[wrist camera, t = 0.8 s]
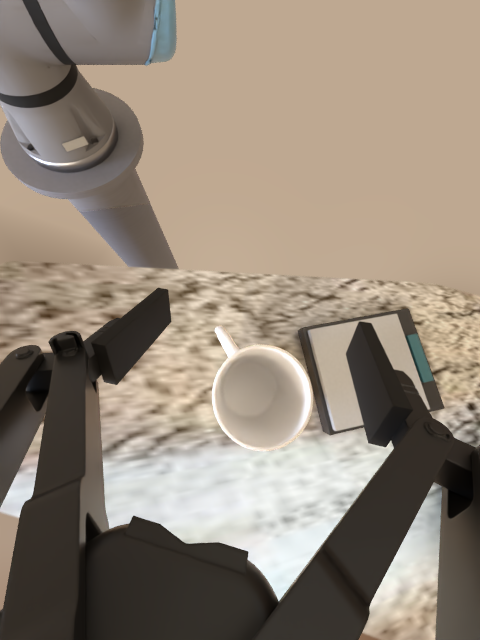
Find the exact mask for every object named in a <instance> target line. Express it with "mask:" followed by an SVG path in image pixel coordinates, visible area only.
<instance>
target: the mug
mask: <svg viewBox="0 0 480 640" xmlns="http://www.w3.org/2000/svg"><path fill="white" fill-rule="evenodd" d="M215 332H216V334H217V336H218V339H219V341H220V342H221V344H222V346H223V348H224V350H225V352H226V354H227V355H228V357H229V358H228V359H227V360H226V361H225V362H224V363H223V364H222V366H221V367H220V369H219V371H218V373H217V375H216V377H215V380H214V384H213V390H212V404H213V410H214V413H215V416H216V419H217V421H218V423H219V425H220V426H221V428H222V429H223V431H224V432H225V433H226V434H227V435H228V436H229V437H230V438H231V439H232V440H233V441H235V442H236V443H237V444H239V445H241V446H243V447H245V448H248V449H251V450H256V451H271V450H275V449H279V448H282V447H284V446H286V445H288V444H289V443H291V442H292V441H293V440H295V439H296V438H297V437H298V436H299V435H300V434H301V432H302V431H303V430H304V428H305V427H306V425H307V423H308V421H309V418H310V416H311V412H312V407H313V390H312V385H311V382H310V379H309V376H308V374H307V372H306V370H305V369H304V367H303V366H302V365H301V363H300V362H299V361H298V360H297V359H296V358H295V357H294V356H293V355H291V354H290V353H288V352H287V351H285V350H283V349H281V348H279V347H276V346H272V345H263V344H260V345H252V346H248V347H245V348H242V349H239V348H238V346H237V345H236V344H235V342H234V340H233V339H232V337H231V336H230V335H229V333H228V332H227V331H226V329H225V328H224V327H223V326H221V325H219V326H217V327H216V328H215Z"/></svg>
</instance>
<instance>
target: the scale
mask: <svg viewBox="0 0 480 640" xmlns="http://www.w3.org/2000/svg"><path fill="white" fill-rule="evenodd" d="M359 321H362V322H368V323H372V325H373V327H374V329H375V331H376V333H377V335H378V338H379V340H380V342H381V344H382V346H383V348H384V350H385V352H386V354H387V356H388V358H389V360H390V362H391V365H392V367H393V369H395V370H400V371H404V372H405V373H406V374H407V375H408V376H409V377H410V378H411V379H412V381H413V383H414V385H415V388H416V389H417V390H418V392H419V395H420V396H421V398H422V400H423V402H424V403H425V405H426V407H427V409H428V411H429V412H431V411H435V410H440V409H444V405H443V402H442V400H441V397H440V394H439V391H438V389H437V386H436V383H435V380H434V378H433V375H432V372H431V369H430V367H429V364H428V361H427V358H426V356H425V353H424V350H423V347H422V344H421V342H420V339H419V336H418V333H417V331H416V328H415V325H414V322H413V320H412V317H411V314H410V311H409V309H402V310H397V311H391V312H386V313H380V314H375V315H370V316H364V317H359V318H353V319H348V320H342V321H337V322H331V323H326V324H321V325H315V326H310V327H304V328H302V329H300V330H298V333H299V337H300V341H301V345H302V349H303V353H304V357H305V361H306V365H307V369H308V373H309V377H310V381H311V384H312V388H313V392H314V396H315V400H316V404H317V408H318V412H319V416H320V420H321V424H322V428H323V431H324V432H325V433H327V434H329V435H333V434H337V433H341V432H346V431H350V430H354V429H358V428H363V427H364V424H363V420H362V416H361V412H360V408H359V404H358V400H357V396H356V392H355V389H354V385H353V381H352V377H351V373H350V369H349V365H348V361H347V357H346V352H347V349H348V347H349V344H350V342H351V339H352V337H353V334H354V332H355V330H356V327H357V325H358V322H359Z"/></svg>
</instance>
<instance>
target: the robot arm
mask: <svg viewBox="0 0 480 640" xmlns="http://www.w3.org/2000/svg"><path fill="white" fill-rule="evenodd" d="M175 50H176V11H175V0H0V105H1V107H2V109H3V111H4V113H5V115H6V117H7V119H8V121H9V124H10V126H11V128H12V130H13V132H14V134H15V136H16V138H17V140H18V142H19V144H20V145H21V147H22V148H23V149H24V150H25V152H26V153H27V154H28V155H29V156H30V157H31V158H32V159H33V160H34V161H35V162H36V163H37V164H38V165H40V166H42V167H43V168H46V169H48V170H51V171H55V172H61V173H75V172H80V171H85V170H88V169H90V168H93V167H95V166H97V165H98V164H100V163H102V162H103V161H104V160H105V159H106V158H108V156H109V155H110V154H111V153H112V152H113V150H114V148H115V146H116V143H117V140H118V130H117V126H116V123H115V121H114V119H113V117H112V114H111V112H110V110H109V109H108V107H107V106H106V105H105V103H104V102H103V101H102V100H101V98H100V97H99V96H98V95H97V93H96V92H95V91H94V90H93V88H92V87H91V86H90V85H89V83H88V82H87V81H86V80H85V78H84V77H83V76H82V75H81V73H80V72H79V71H78V69H77V66H76V65H149V64H151V63H156V62H165V61H168V60H170V59H171V58H172V57H173V55H174V53H175ZM170 323H171V314H170V305H169V295H168V290H167V289H161V288H157V289H156V290H155V291H154V292H152V293H151V294H150V295H149V296H148V297H146V298H145V299H144V300H143V301H141V302H140V303H139V304H138V305H137V306H135V307H134V308H133V309H132V310H130V311H129V312H128V313H127V314H125V315H124V316H123V317H122V318H121V319H120V318H116V319H114V320H111V321H109V322H108V323H107V324H105V325H104V326H103V327H101V328H100V329H99V330H98V331H96V332H95V333H94V334H92V335H91V336H90V337H89V338H87V339H86V340H85V341H83V340H82V338H81V335H80V333H78V332H76V331H67V332H63V333H59V334H57V335H55V336H54V337H52V338H51V339H50V341H49V344H50V346H51V349H52V351H53V353H42V351H41V349H40V347H39V346H36V345H29V346H23V347H20V348H18V349H16V350H14V351H12V352H11V353H10V354H9V355H8V356H7V357H6V358H5V359H4V360H3V362H2V363H1V364H0V507H1V505H2V503H3V501H4V499H5V497H6V495H7V493H8V490H9V488H10V486H11V484H12V482H13V480H14V478H15V476H16V474H17V472H18V470H19V468H20V465H21V463H22V461H23V459H24V457H25V455H26V453H27V451H28V449H29V447H30V445H31V443H32V441H33V438H34V436H35V434H36V432H37V430H38V428H39V426H40V424H41V422H42V420H43V418H44V416H45V421H44V428H43V434H42V441H41V447H40V454H39V460H38V467H37V473H36V480H35V486H34V492H33V496H32V498H31V499H29V500H28V501H26V502H25V503H24V505H23V507H22V510H21V514H20V518H19V524H18V530H17V535H16V541H15V546H14V551H13V557H12V563H11V568H10V573H9V579H8V585H7V590H6V596H5V602H4V607H3V609H2V610H1V611H0V640H358V639H359V637H360V635H361V633H362V631H363V629H364V627H365V625H366V623H367V620H368V617H369V614H370V613H369V606H370V603H371V601H372V599H373V597H374V595H375V593H376V591H377V589H378V587H379V586H380V584H381V582H382V580H383V578H384V576H385V574H386V572H387V570H388V568H389V566H390V565H391V563H392V561H393V559H394V557H395V555H396V553H397V551H398V549H399V547H400V545H401V543H402V542H403V540H404V538H405V536H406V534H407V532H408V530H409V528H410V526H411V524H412V522H413V521H414V519H415V517H416V515H417V513H418V511H419V509H420V507H421V505H422V503H423V501H424V500H425V498H426V496H427V494H428V492H429V490H430V488H431V486H432V484H433V482H435V483H437V484H439V485H441V486H442V506H441V528H440V550H439V573H438V595H437V617H436V640H480V445H479V446H478V447H477V448H475V447H473V446H471V445H469V444H466V443H464V442H462V441H460V440H457V439H455V438H454V437H453V435H452V433H451V432H450V431H449V429H448V428H447V427H446V426H444V425H443V424H442V423H440V422H439V421H437V420H435V419H433V418H432V416H431V414H430V413H429V411H428V409H427V407H426V405H425V403H424V402H423V400H422V398H421V396H420V395H419V392H418V390H417V389H416V388H415V385H414V383H413V381H412V379H411V378H410V377H409V376H408V375H407V374H406V373H405V372H404V371H400V370H395V369H393V367H392V365H391V362H390V360H389V358H388V356H387V354H386V352H385V350H384V348H383V346H382V344H381V342H380V340H379V338H378V335H377V333H376V331H375V329H374V327H373V325H372V323H368V322H362V321H359V322H358V325H357V327H356V330H355V332H354V334H353V337H352V339H351V342H350V344H349V347H348V349H347V352H346V357H347V361H348V365H349V369H350V373H351V377H352V381H353V385H354V389H355V392H356V396H357V400H358V404H359V408H360V412H361V416H362V420H363V424H364V428H365V431H366V435H367V439H368V443H370V444H374V445H379V446H383V447H386V446H387V445H388V443H389V442H390V441H392V444H393V446H394V449H393V451H392V452H391V453H390V455H389V456H388V457H387V458H386V460H385V461H384V463H383V464H382V465H381V467H380V468H379V469H378V471H377V472H376V473H375V475H374V476H373V477H372V479H371V480H370V481H369V483H368V484H367V485H366V487H365V488H364V489H363V491H362V492H361V493H360V495H359V496H358V497H357V499H356V500H355V501H354V503H353V504H352V505H351V507H350V508H349V509H348V511H347V512H346V513H345V515H344V516H343V517H342V519H341V520H340V521H339V523H338V524H337V525H336V527H335V528H334V529H333V531H332V532H331V533H330V535H329V536H328V537H327V539H326V540H325V541H324V543H323V544H322V545H321V547H320V548H319V549H318V550H317V552H316V553H315V554H314V556H313V557H312V558H311V560H310V561H309V562H308V564H307V565H306V566H305V568H304V569H303V570H302V572H301V573H300V574H299V576H298V577H297V578H296V580H295V581H294V582H293V584H292V585H291V586H290V588H289V589H288V590H287V592H286V593H285V594H284V596H283V597H282V598H281V600H280V601H279V602H278V599H277V597H276V595H275V593H274V591H273V589H272V587H271V585H270V584H269V582H268V581H267V579H266V578H265V576H264V575H263V574H262V573H261V571H260V570H259V569H258V568H257V567H256V566H255V565H254V564H252V563H251V562H250V561H248V560H247V558H248V551H244V550H241V549H238V548H235V547H232V546H228V545H225V544H222V543H219V542H218V543H195V544H186V543H184V542H182V541H181V540H180V539H178V538H177V537H176V536H175V535H173V534H172V533H171V532H169V531H168V530H167V529H166V528H164V527H163V526H162V525H160V524H158V523H155V522H152V521H148V520H145V519H142V518H139V517H136V516H133V517H132V520H131V522H130V524H125V525H120V526H117V527H114V528H111V529H109V524H108V519H107V515H106V510H105V497H104V479H103V461H102V443H101V425H100V407H99V389H98V382H97V379H98V378H99V377H100V376H101V374H102V377H103V380H104V382H106V383H111V384H115V385H117V384H118V383H119V382H120V381H121V379H122V378H123V377H124V376H125V375H126V374H127V372H128V371H129V370H130V369H131V368H132V367H133V366H134V364H135V363H136V362H137V361H138V360H139V359H140V357H141V356H142V355H143V354H144V353H145V352H146V350H147V349H148V348H149V347H150V346H151V345H152V343H153V342H154V341H155V340H156V339H157V338H158V336H159V335H160V334H161V333H162V332H163V331H164V330H165V328H166V327H167V326H168V325H169V324H170ZM45 414H46V415H45Z"/></svg>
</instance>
